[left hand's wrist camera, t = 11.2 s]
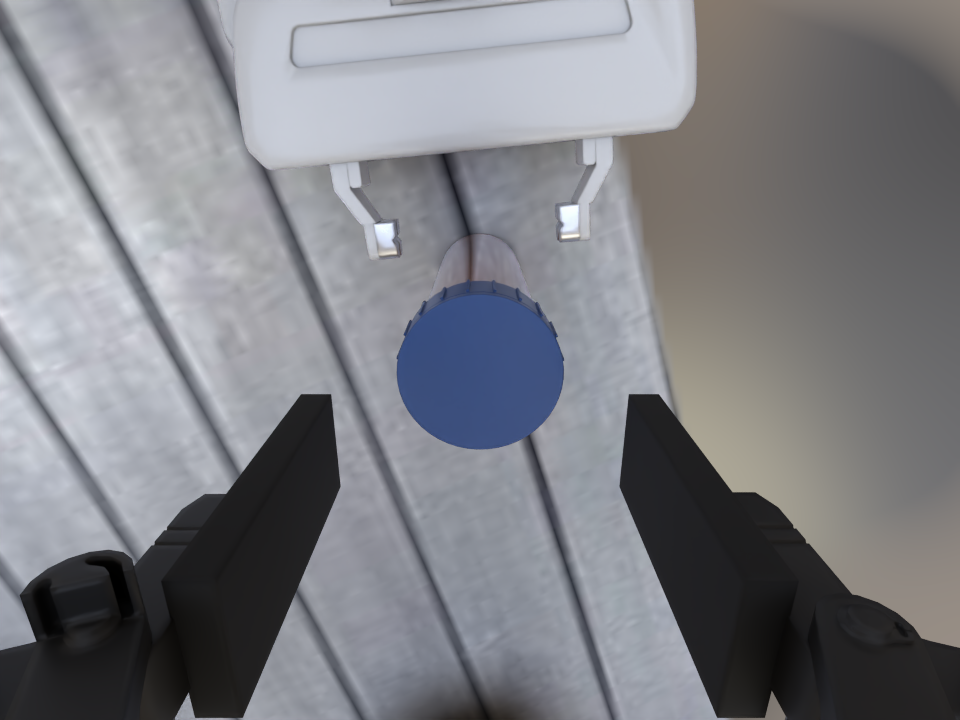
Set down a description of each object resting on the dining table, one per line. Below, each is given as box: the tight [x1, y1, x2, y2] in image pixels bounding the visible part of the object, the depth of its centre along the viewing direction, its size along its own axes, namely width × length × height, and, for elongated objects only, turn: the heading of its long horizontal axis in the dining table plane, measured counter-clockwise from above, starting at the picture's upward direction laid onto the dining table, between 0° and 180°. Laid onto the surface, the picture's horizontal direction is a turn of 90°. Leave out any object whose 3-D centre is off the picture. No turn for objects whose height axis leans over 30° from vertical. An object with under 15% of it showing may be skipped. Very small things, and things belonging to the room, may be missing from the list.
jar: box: [428, 234, 532, 300], centre depth 27 cm, size 5×5×17 cm
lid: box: [397, 279, 564, 449], centre depth 20 cm, size 6×6×2 cm
